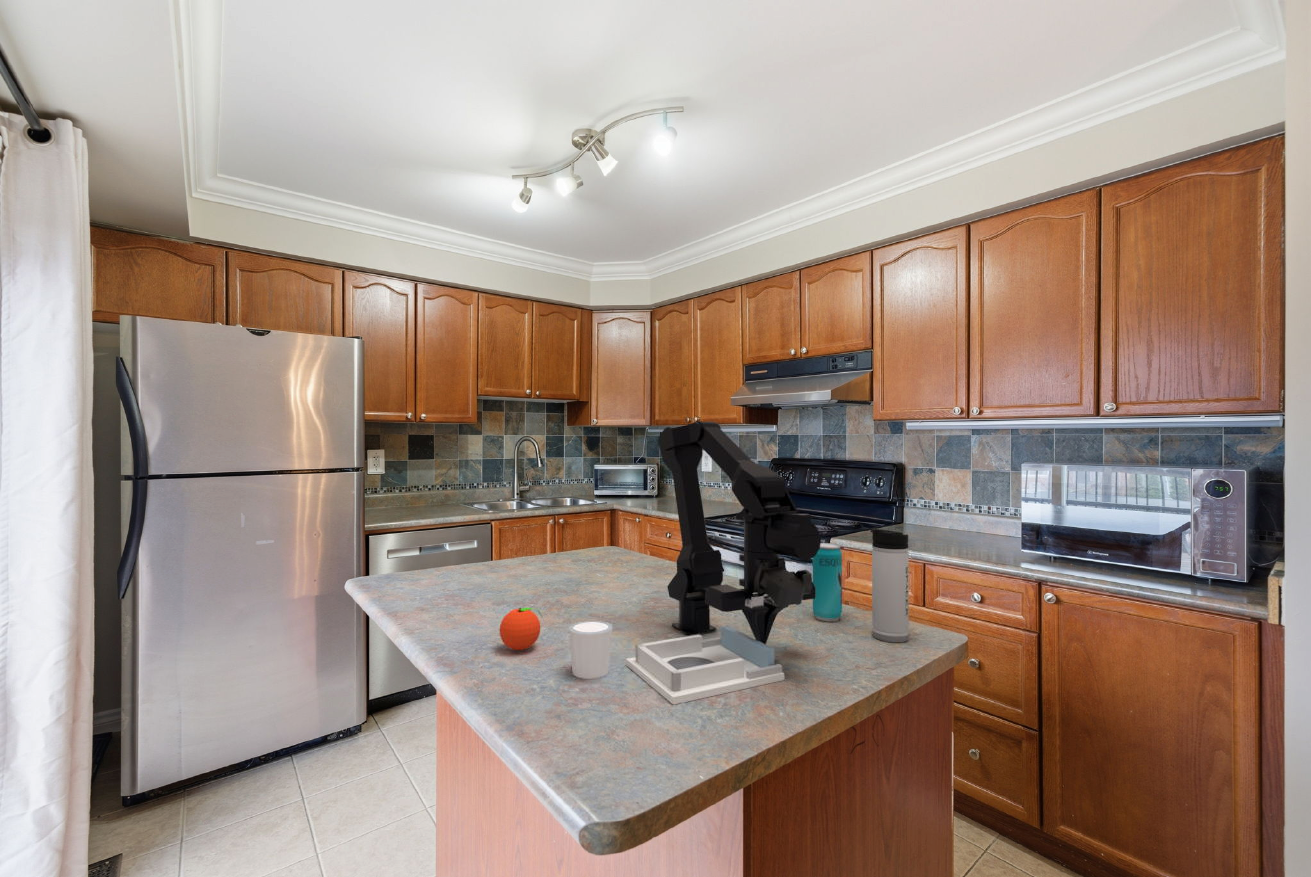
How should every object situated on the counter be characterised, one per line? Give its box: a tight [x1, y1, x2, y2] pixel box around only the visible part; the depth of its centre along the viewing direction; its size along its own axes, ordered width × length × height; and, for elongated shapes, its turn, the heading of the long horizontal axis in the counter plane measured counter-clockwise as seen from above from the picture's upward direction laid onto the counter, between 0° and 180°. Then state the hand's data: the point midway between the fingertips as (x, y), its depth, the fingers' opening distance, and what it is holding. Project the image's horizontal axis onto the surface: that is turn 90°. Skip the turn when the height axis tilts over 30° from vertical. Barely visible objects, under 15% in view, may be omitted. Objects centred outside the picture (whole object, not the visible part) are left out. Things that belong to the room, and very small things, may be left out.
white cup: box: [568, 620, 614, 680], centre depth 91 cm, size 7×7×7 cm
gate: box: [720, 625, 775, 668], centre depth 94 cm, size 13×1×3 cm, turn 26°
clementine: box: [498, 607, 543, 651], centre depth 101 cm, size 8×7×7 cm
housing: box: [625, 634, 785, 705], centre depth 90 cm, size 16×19×4 cm
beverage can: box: [812, 542, 843, 623], centre depth 119 cm, size 6×6×15 cm
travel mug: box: [870, 527, 910, 644], centre depth 107 cm, size 6×7×20 cm
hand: (761, 645), depth 95 cm, fingers closed
